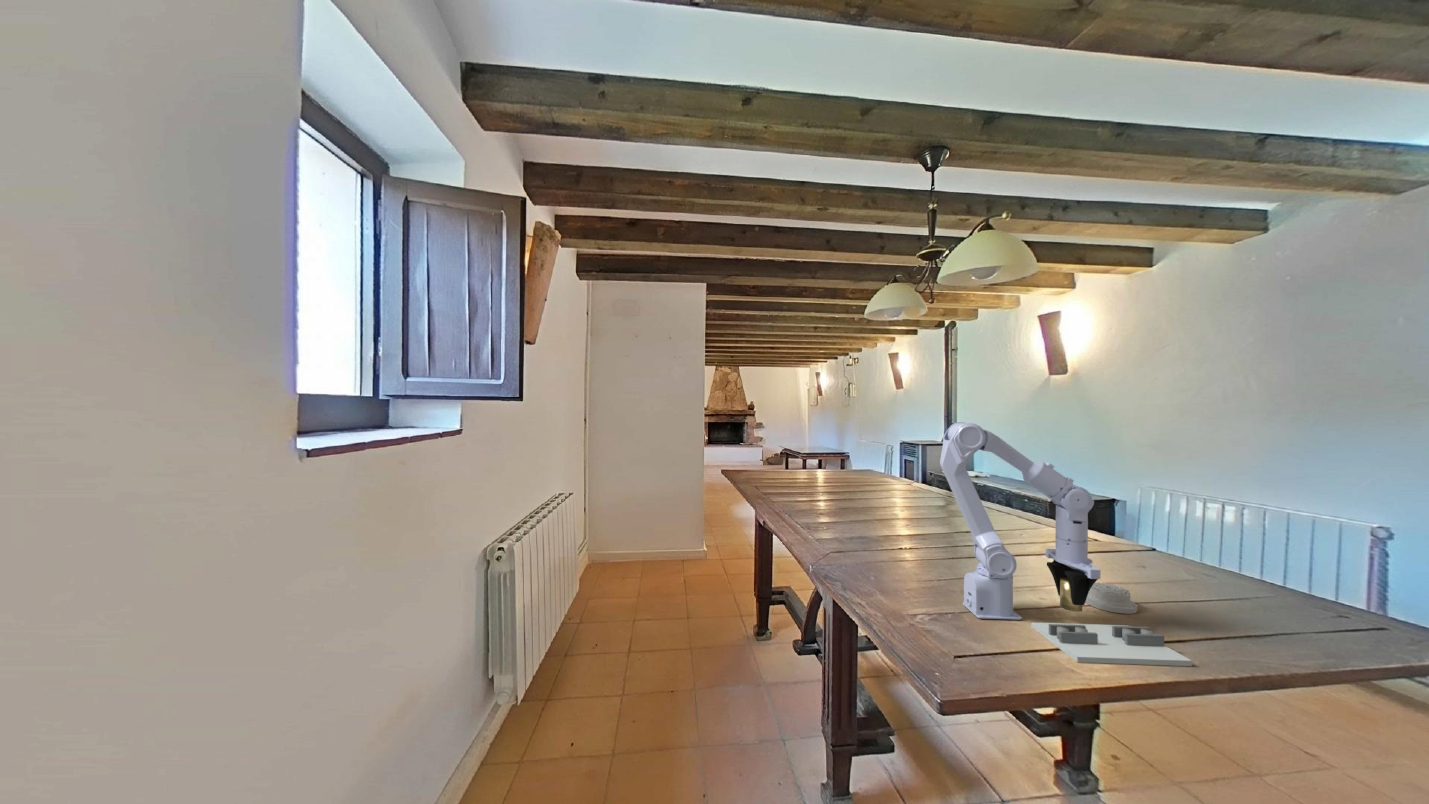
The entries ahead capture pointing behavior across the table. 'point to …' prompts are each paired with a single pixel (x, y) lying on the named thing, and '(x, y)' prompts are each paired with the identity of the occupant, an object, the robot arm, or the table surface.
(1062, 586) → the pin
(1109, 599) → the mechanical component
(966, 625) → the table surface
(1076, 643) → the chain base
